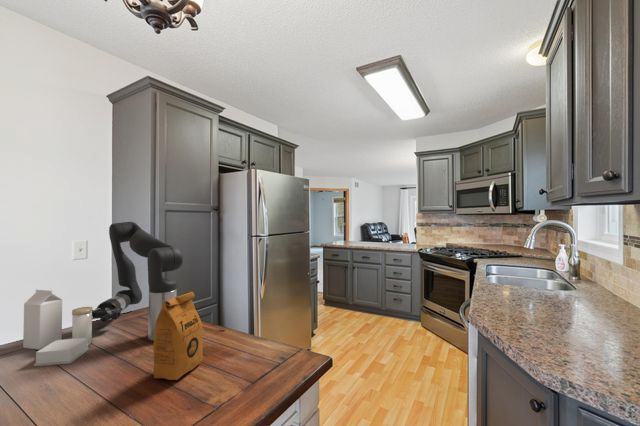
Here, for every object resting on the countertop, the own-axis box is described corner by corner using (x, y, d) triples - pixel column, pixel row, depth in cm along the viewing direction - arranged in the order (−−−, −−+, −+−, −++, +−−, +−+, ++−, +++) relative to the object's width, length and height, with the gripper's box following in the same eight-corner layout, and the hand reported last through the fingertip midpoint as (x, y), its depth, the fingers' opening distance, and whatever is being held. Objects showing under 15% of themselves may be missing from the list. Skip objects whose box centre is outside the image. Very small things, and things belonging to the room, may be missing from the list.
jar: (95, 340, 106) (95, 306, 106) (86, 346, 100) (86, 311, 101) (77, 341, 105) (78, 307, 105) (67, 348, 99) (68, 312, 99)
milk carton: (39, 350, 98) (40, 293, 98) (22, 348, 99) (23, 292, 99) (61, 341, 105) (62, 288, 105) (46, 339, 106) (47, 287, 106)
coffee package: (208, 363, 89) (208, 291, 89) (175, 386, 77) (176, 303, 78) (182, 358, 92) (183, 289, 93) (147, 379, 81) (148, 299, 81)
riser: (88, 349, 98) (89, 337, 99) (70, 363, 89) (71, 350, 89) (55, 351, 97) (56, 339, 97) (33, 366, 87) (34, 352, 87)
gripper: (92, 299, 121) (67, 311, 106) (130, 297, 124) (111, 309, 108) (92, 317, 121) (66, 332, 105) (130, 315, 124) (110, 329, 108)
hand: (89, 320), depth 107 cm, fingers open, 8 cm apart
